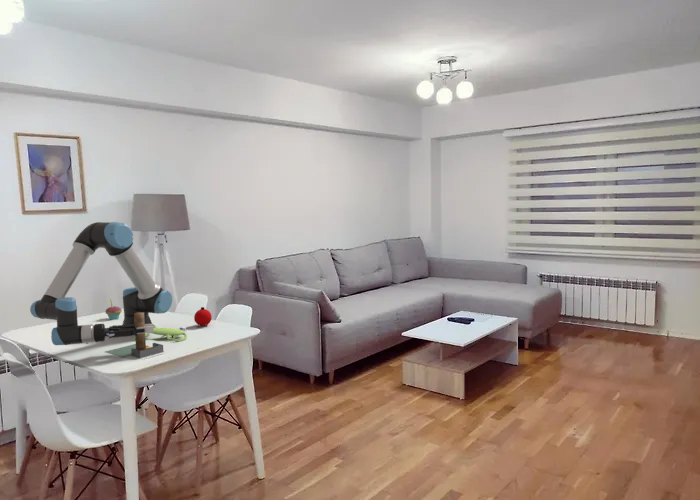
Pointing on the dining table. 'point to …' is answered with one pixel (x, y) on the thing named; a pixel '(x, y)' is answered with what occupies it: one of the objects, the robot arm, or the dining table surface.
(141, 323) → the peg
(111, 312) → the cupcake
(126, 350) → the mat
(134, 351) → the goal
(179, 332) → the figurine
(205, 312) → the ornament
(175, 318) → the dining table surface
